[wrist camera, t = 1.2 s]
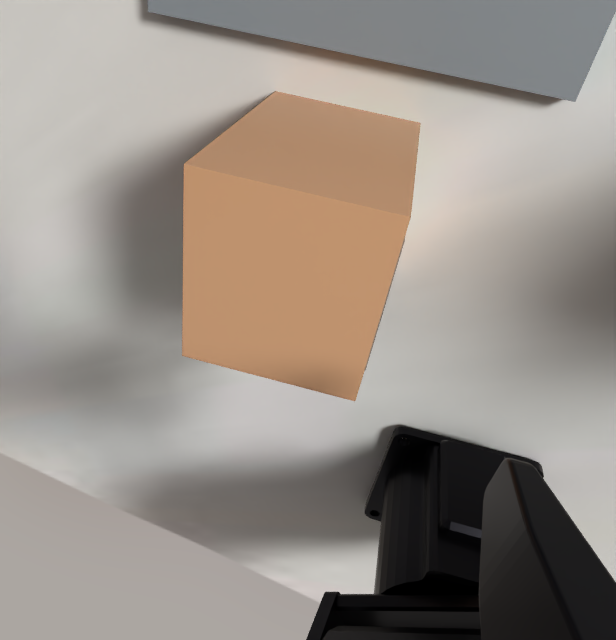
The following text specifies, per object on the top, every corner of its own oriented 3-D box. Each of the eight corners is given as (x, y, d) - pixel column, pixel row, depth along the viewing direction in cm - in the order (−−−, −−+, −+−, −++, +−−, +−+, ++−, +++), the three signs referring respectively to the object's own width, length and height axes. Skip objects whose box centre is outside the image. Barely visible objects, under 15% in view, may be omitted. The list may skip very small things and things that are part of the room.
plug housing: (381, 266, 18) (357, 401, 12) (258, 236, 18) (180, 355, 13) (422, 123, 15) (413, 217, 10) (273, 90, 15) (181, 163, 10)
